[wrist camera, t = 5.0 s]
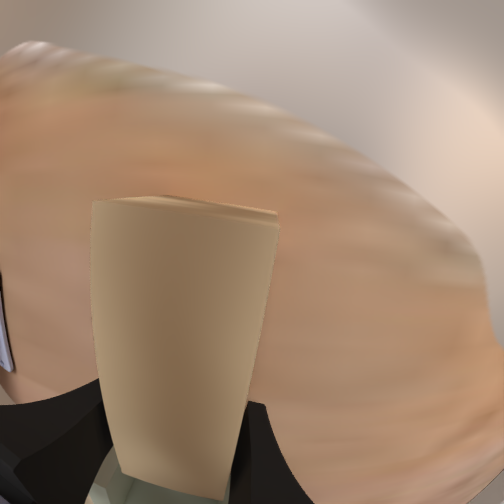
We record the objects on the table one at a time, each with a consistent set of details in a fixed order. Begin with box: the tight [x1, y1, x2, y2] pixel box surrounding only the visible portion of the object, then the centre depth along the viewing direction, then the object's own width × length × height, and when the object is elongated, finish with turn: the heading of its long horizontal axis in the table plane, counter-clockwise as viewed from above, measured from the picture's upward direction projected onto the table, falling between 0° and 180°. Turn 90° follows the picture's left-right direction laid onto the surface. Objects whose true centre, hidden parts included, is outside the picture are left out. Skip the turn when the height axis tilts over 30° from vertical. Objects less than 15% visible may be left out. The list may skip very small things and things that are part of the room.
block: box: [89, 445, 231, 504], centre depth 11 cm, size 9×8×4 cm
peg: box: [90, 195, 280, 501], centre depth 9 cm, size 4×10×5 cm, turn 171°
